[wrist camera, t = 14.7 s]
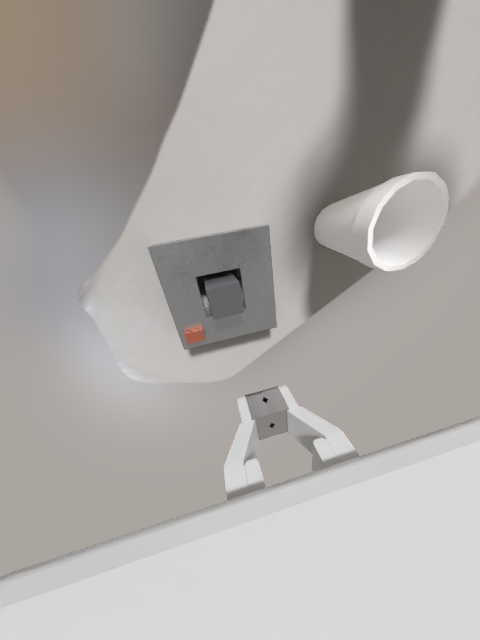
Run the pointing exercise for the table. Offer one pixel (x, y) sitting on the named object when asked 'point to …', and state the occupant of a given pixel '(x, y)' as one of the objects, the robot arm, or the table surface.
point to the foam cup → (387, 221)
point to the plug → (224, 295)
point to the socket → (212, 257)
